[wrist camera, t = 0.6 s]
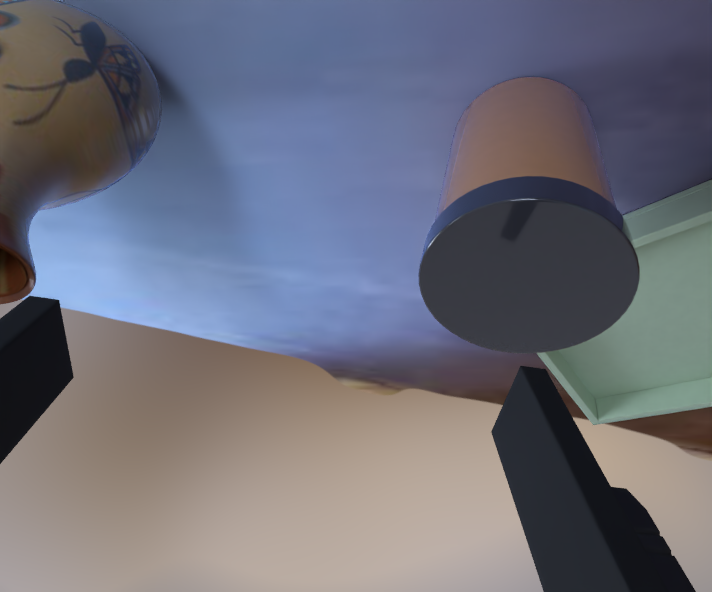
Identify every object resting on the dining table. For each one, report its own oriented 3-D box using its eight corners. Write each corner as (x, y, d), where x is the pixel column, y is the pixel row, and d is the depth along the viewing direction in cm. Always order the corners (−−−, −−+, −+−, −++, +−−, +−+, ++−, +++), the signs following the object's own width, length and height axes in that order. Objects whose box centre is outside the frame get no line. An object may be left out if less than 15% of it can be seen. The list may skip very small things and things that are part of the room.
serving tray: (750, 162, 22) (770, 189, 21) (817, 355, 29) (836, 387, 27) (490, 268, 31) (488, 293, 29) (589, 399, 38) (593, 425, 36)
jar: (557, 36, 21) (582, 154, 13) (621, 164, 24) (673, 321, 16) (422, 128, 25) (379, 257, 17) (491, 225, 28) (481, 371, 20)
